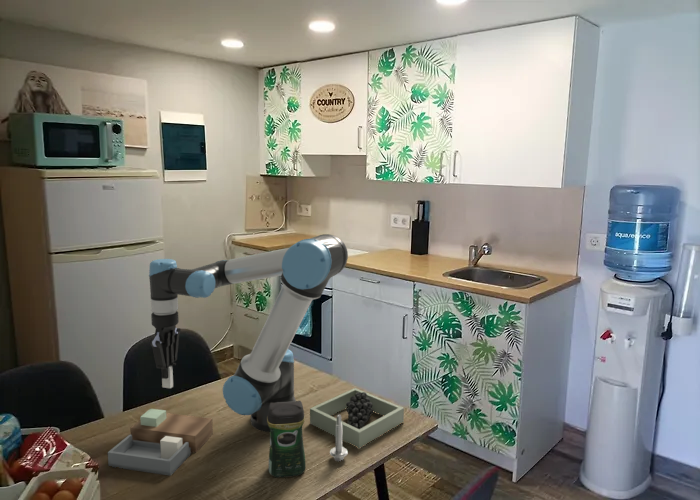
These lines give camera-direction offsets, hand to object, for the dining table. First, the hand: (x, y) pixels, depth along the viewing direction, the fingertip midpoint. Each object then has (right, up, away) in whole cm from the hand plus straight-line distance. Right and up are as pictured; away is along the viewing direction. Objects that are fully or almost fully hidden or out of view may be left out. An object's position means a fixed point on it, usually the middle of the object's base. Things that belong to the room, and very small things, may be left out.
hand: (167, 386), depth 155 cm
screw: (+52, -15, -16) cm, 57 cm away
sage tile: (-1, -8, -7) cm, 11 cm away
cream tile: (+8, -11, -16) cm, 21 cm away
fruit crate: (+57, -12, +3) cm, 59 cm away
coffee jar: (+39, -16, -21) cm, 47 cm away
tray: (+2, -15, -18) cm, 23 cm away
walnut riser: (+4, -13, -7) cm, 15 cm away
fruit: (+57, -12, +3) cm, 59 cm away
